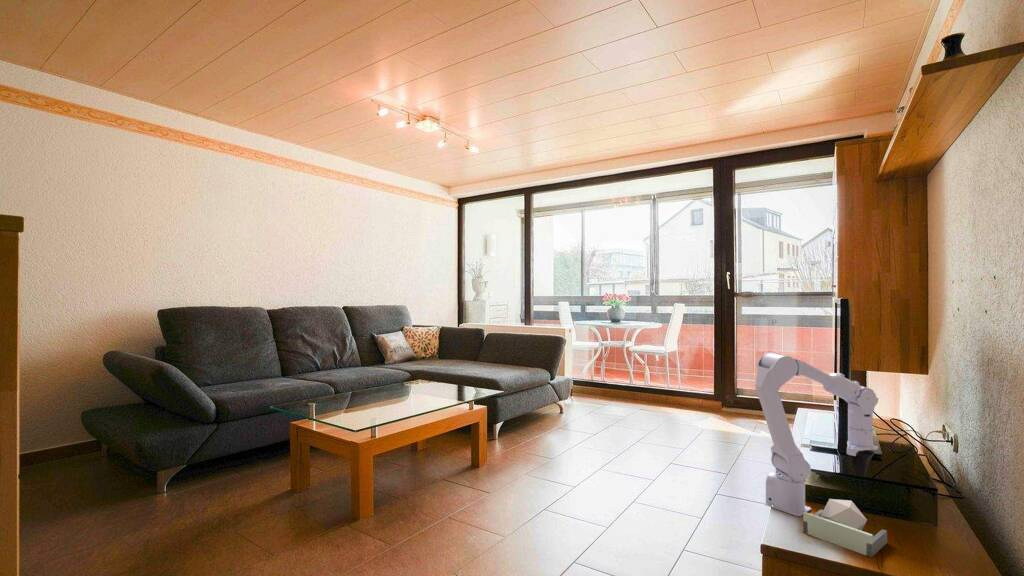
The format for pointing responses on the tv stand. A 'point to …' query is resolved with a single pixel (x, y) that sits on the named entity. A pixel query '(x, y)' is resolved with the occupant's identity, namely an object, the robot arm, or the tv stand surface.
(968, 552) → the tv stand surface
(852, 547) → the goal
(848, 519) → the die
